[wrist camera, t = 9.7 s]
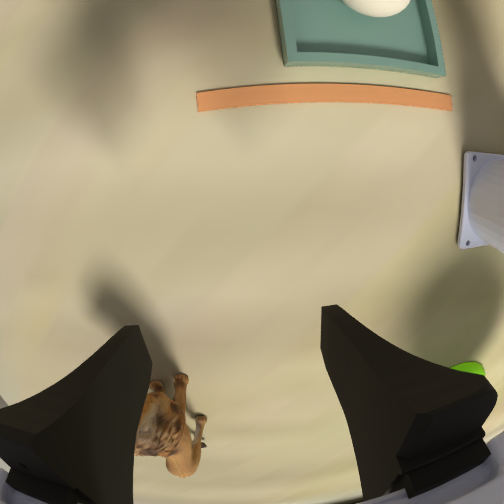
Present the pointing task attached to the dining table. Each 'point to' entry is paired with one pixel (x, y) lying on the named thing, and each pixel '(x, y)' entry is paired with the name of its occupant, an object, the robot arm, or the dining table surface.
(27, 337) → the dining table surface
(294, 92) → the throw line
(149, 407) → the lion figurine
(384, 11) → the ball
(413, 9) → the tray
